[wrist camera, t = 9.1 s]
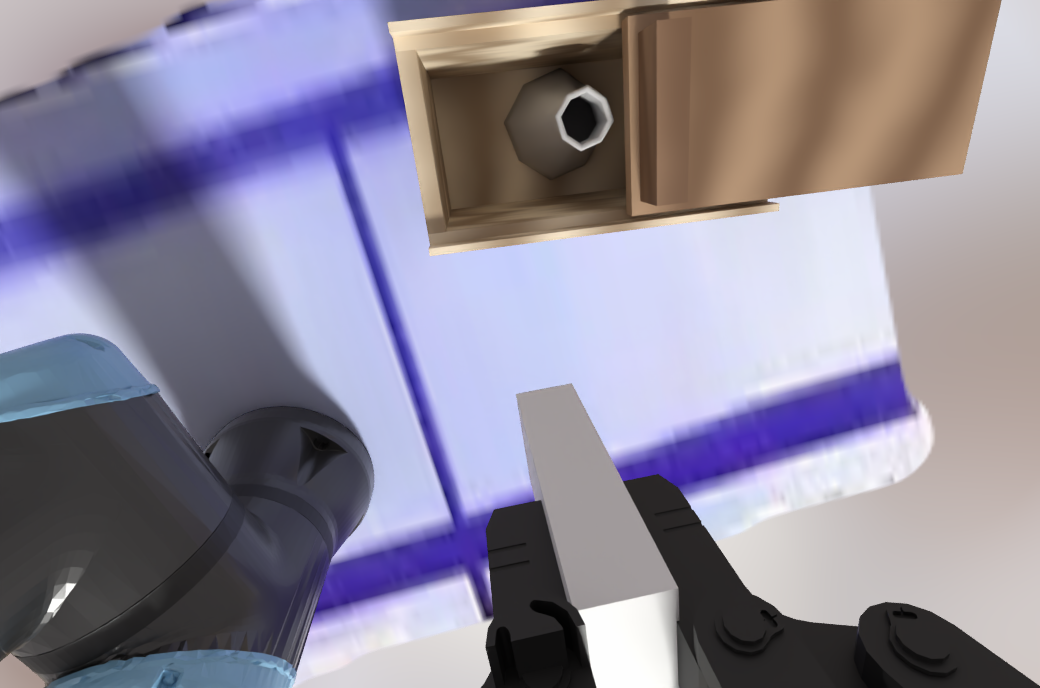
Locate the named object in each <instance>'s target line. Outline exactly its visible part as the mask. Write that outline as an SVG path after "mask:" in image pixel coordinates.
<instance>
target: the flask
mask: <svg viewBox="0 0 1040 688" xmlns="http://www.w3.org/2000/svg"><path fill="white" fill-rule="evenodd" d="M613 122H614V120H613V116H612V113H611V110H610V107H609V103H608V100H607V98H606V97H605V96H603V95H602V94H601V93H599V92H598V91H596V90H595V89H593V88H592V87H591V86H589V85H584V84H583V83H581V82H580V81H579V80H577V79H576V78H574V77H573V76H571V75H570V74H569V73H567V72H566V71H564V70H563V69H561V68H558V69H556V70H554V71H552V72H549V73H547V74H545V75H543V76H541V77H539V78H537V79H534V80H532V81H530V82H528V83H526V84H524V85H523V86H522V88H521V90H520V92H519V94H518V96H517V98H516V100H515V102H514V104H513V106H512V108H511V110H510V112H509V113H508V115H507V117H506V119H505V121H504V124H505V126H506V129H507V131H508V134H509V137H510V139H511V142H512V144H513V147H514V149H515V152H516V154H517V157H518V159H519V161H520V162H522V163H524V164H525V165H527V166H529V167H530V168H532V169H533V170H535V171H537V172H538V173H540V174H541V175H543V176H545V177H546V178H548V179H549V180H553V179H555V178H557V177H560V176H562V175H564V174H566V173H568V172H571V171H573V170H575V169H577V168H579V167H582V166H584V165H585V164H586V162H587V161H588V159H589V157H590V156H591V154H592V152H593V150H594V149H595V147H596V145H597V144H598V143H600V142H602V141H603V139H604V137H605V135H606V134H607V132H608V130H609V128H610V127H611V125H612V123H613Z"/></svg>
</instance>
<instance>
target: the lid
mask: <svg viewBox="0 0 1040 688" xmlns="http://www.w3.org/2000/svg"><path fill="white" fill-rule="evenodd" d="M1000 5H1001V0H774V1H765V2H755V3H746V4H737V5H727V6H718V7H708V8H699V9H689V10H680V11H670V12H661V13H651V14H642V15H632V16H627V17H626V18H625V19H623V20H622V55H623V95H624V134H625V174H626V214H628V215H630V216H638V215H646V214H653V213H661V212H669V211H677V210H685V209H692V208H700V207H708V206H716V205H724V204H731V203H739V202H747V201H755V200H762V199H770V198H778V197H786V196H794V195H801V194H809V193H817V192H825V191H833V190H840V189H848V188H856V187H864V186H871V185H879V184H887V183H895V182H903V181H910V180H918V179H925V178H934V177H941V176H949V175H957V174H962V173H963V169H964V164H965V160H966V156H967V151H968V147H969V142H970V138H971V134H972V129H973V125H974V120H975V116H976V111H977V106H978V102H979V97H980V93H981V89H982V85H983V80H984V76H985V71H986V67H987V62H988V58H989V54H990V49H991V44H992V40H993V35H994V31H995V27H996V22H997V18H998V13H999V9H1000Z"/></svg>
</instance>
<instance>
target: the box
mask: <svg viewBox="0 0 1040 688" xmlns="http://www.w3.org/2000/svg"><path fill="white" fill-rule="evenodd" d="M765 1H774V0H599V1H589V2H579V3H570V4H560V5H550V6H541V7H531V8H521V9H512V10H502V11H492V12H483V13H473V14H463V15H454V16H444V17H434V18H425V19H415V20H405V21H396V22H388V28H389V33H390V34H391V36H392V37H393V41H394V47H395V52H396V58H397V63H398V69H399V74H400V80H401V86H402V91H403V97H404V102H405V108H406V113H407V119H408V124H409V130H410V136H411V141H412V147H413V152H414V158H415V163H416V169H417V175H418V180H419V186H420V191H421V197H422V202H423V208H424V213H425V219H426V225H427V230H428V236H429V241H430V247H429V253H430V256H435V255H442V254H450V253H458V252H465V251H473V250H481V249H489V248H496V247H504V246H512V245H519V244H527V243H535V242H542V241H550V240H558V239H565V238H573V237H581V236H589V235H596V234H604V233H612V232H619V231H627V230H635V229H642V228H650V227H658V226H665V225H673V224H681V223H689V222H696V221H704V220H712V219H719V218H727V217H735V216H742V215H750V214H758V213H765V212H773V211H779V203H773V202H767V200H768V199H762V200H755V201H747V202H739V203H731V204H724V205H716V206H708V207H700V208H692V209H685V210H677V211H669V212H661V213H653V214H646V215H638V216H630V215H628V214H626V174H625V134H624V95H623V55H622V20H623V19H625V18H626V17H627V16H632V15H642V14H651V13H661V12H670V11H680V10H689V9H699V8H708V7H718V6H727V5H737V4H746V3H755V2H765ZM558 68H561V69H563V70H564V71H566V72H567V73H569V74H570V75H571V76H573V77H574V78H576V79H577V80H579V81H580V82H581V83H583V84H584V85H589V86H591V87H592V88H593V89H595V90H596V91H598V92H599V93H601V94H602V95H603V96H605V97H606V98H607V100H608V103H609V107H610V110H611V113H612V116H613V120H614V122H613V123H612V125H611V127H610V128H609V130H608V132H607V134H606V135H605V137H604V139H603V141H602V142H600V143H598V144H597V145H596V147H595V149H594V150H593V152H592V154H591V156H590V157H589V159H588V161H587V162H586V164H585V165H584V166H582V167H579V168H577V169H575V170H573V171H571V172H568V173H566V174H564V175H562V176H560V177H557V178H555V179H553V180H549V179H548V178H546V177H545V176H543V175H541V174H540V173H538V172H537V171H535V170H533V169H532V168H530V167H529V166H527V165H525V164H524V163H522V162H520V161H519V159H518V157H517V154H516V152H515V149H514V147H513V144H512V142H511V139H510V137H509V134H508V131H507V129H506V126H505V124H504V121H505V119H506V117H507V115H508V113H509V112H510V110H511V108H512V106H513V104H514V102H515V100H516V98H517V96H518V94H519V92H520V90H521V88H522V86H523V85H524V84H526V83H528V82H530V81H532V80H534V79H537V78H539V77H541V76H543V75H545V74H547V73H549V72H552V71H554V70H556V69H558Z"/></svg>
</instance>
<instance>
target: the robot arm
mask: <svg viewBox="0 0 1040 688" xmlns="http://www.w3.org/2000/svg"><path fill="white" fill-rule="evenodd" d="M158 392H160V390H159V388H158V387H157V386H156V385H154V384H150V383H149V382H148V381H147V380H146V379H145V378H144V376H143V375H142V374H141V373H140V372H139V371H138V370H137V369H136V368H135V367H134V365H133V364H132V363H131V362H130V361H129V360H128V358H127V357H126V356H125V355H124V354H123V353H122V351H121V350H120V349H119V348H118V347H117V346H116V345H114V344H113V343H112V342H110V341H109V340H107V339H105V338H102V337H99V336H96V335H91V334H83V333H78V334H68V335H63V336H59V337H56V338H52V339H48V340H45V341H42V342H38V343H35V344H32V345H28V346H25V347H22V348H18V349H15V350H12V351H8V352H5V353H2V354H0V661H1V660H3V659H4V658H5V657H6V656H8V655H9V654H10V653H11V654H12V655H14V656H15V657H17V658H18V659H19V660H20V661H21V662H23V663H24V664H25V665H26V666H28V667H29V668H30V669H31V670H32V671H33V672H34V673H36V674H37V675H38V676H39V677H40V678H41V679H42V680H43V681H44V682H45V688H291V687H292V686H293V684H294V682H295V679H296V672H297V669H298V665H299V662H300V659H301V656H302V652H303V649H304V646H305V643H306V639H307V636H308V633H309V630H310V626H311V623H312V620H313V617H314V613H315V610H316V607H317V604H318V600H319V597H320V594H321V591H322V587H323V584H324V581H325V578H326V574H327V571H328V568H329V565H330V562H331V558H332V557H333V556H334V555H335V553H336V552H337V551H338V549H339V548H340V547H341V546H342V544H343V543H344V542H345V540H346V539H347V538H348V537H349V536H350V535H351V534H352V533H353V532H354V531H355V530H356V528H357V527H358V526H359V525H360V523H361V522H362V520H363V518H364V516H365V514H366V512H367V510H368V507H369V503H370V500H371V496H372V492H373V488H374V470H373V466H372V462H371V459H370V457H369V455H368V453H367V451H366V449H365V448H364V446H363V445H362V443H361V442H360V441H359V440H358V438H357V437H356V436H355V435H354V434H353V433H352V432H351V431H349V430H348V429H347V428H346V427H344V426H343V425H342V424H340V423H338V422H337V421H335V420H333V419H331V418H329V417H327V416H325V415H323V414H320V413H317V412H314V411H311V410H307V409H302V408H295V407H270V408H264V409H259V410H255V411H252V412H249V413H246V414H244V415H242V416H240V417H238V418H236V419H234V420H233V421H231V422H230V423H228V424H227V425H226V426H225V427H224V428H223V429H222V430H221V431H220V432H219V433H218V434H217V435H216V436H215V438H214V439H213V440H212V441H211V442H210V443H209V445H208V446H207V447H206V448H205V450H204V451H202V450H201V449H200V448H199V446H198V445H197V444H196V443H195V441H194V440H193V439H192V437H191V436H190V435H189V433H188V432H187V431H186V429H185V428H184V427H183V425H182V424H181V423H180V421H179V420H178V419H177V417H176V416H175V415H174V413H173V412H172V411H171V409H170V408H169V407H168V405H167V404H166V403H165V401H164V400H163V399H162V397H161V396H160V395H159V393H158ZM516 397H517V403H518V409H519V415H520V421H521V427H522V433H523V439H524V445H525V451H526V457H527V463H528V469H529V475H530V480H531V485H532V489H533V493H534V497H535V501H534V502H529V503H524V504H519V505H514V506H509V507H504V508H500V509H495V510H494V511H493V514H492V516H491V518H490V521H489V523H488V526H487V528H486V537H487V548H488V559H489V569H490V581H491V593H492V604H493V615H494V619H493V621H492V623H491V624H490V626H489V628H488V632H487V640H486V651H487V655H488V659H489V663H490V667H491V672H490V674H489V676H488V678H487V679H486V681H485V683H484V685H483V686H482V687H481V688H1040V686H1039V685H1037V684H1036V683H1035V682H1033V681H1032V680H1030V679H1029V678H1028V677H1026V676H1025V675H1023V674H1022V673H1021V672H1019V671H1018V670H1016V669H1015V668H1014V667H1012V666H1011V665H1009V664H1008V663H1007V662H1005V661H1004V660H1002V659H1001V658H1000V657H998V656H997V655H995V654H994V653H992V652H991V651H990V650H988V649H987V648H986V647H984V646H983V645H982V644H980V643H979V642H977V641H976V640H975V639H973V638H972V637H970V636H969V635H967V634H966V633H965V632H963V631H962V630H960V629H959V628H958V627H956V626H955V625H953V624H951V623H950V622H948V621H946V620H944V619H943V618H941V617H939V616H937V615H936V614H934V613H932V612H930V611H927V610H924V609H921V608H918V607H915V606H912V605H909V604H903V603H889V602H885V603H881V604H877V605H874V606H870V607H869V608H868V609H867V610H866V611H865V612H864V613H863V614H862V615H861V616H860V619H859V624H858V627H857V626H846V625H835V624H824V623H813V622H807V621H801V620H796V619H793V618H790V617H787V616H784V615H782V614H781V613H780V612H779V611H778V610H777V609H776V608H775V607H774V606H773V605H771V604H769V603H768V602H766V601H764V600H762V599H761V598H759V597H757V596H755V595H752V594H751V593H750V591H749V590H748V589H747V588H746V587H745V586H744V584H743V583H742V581H741V580H740V579H739V577H738V575H737V574H736V573H735V571H734V569H733V568H732V566H731V565H730V563H729V562H728V561H727V559H726V558H725V556H724V555H723V553H722V552H721V550H720V549H719V547H718V546H717V544H716V543H715V541H714V540H713V538H712V537H711V535H710V534H709V532H708V531H707V529H706V528H705V527H704V526H702V524H701V521H700V519H699V518H698V516H697V515H696V513H695V512H694V510H692V509H691V506H690V504H689V503H688V501H687V500H686V499H685V497H684V496H683V494H682V493H681V491H680V490H679V488H678V487H676V486H675V485H673V484H672V483H670V482H669V481H668V480H666V479H665V478H663V477H662V476H660V475H659V474H657V475H652V476H647V477H642V478H637V479H633V480H628V481H622V479H621V477H620V475H619V473H618V471H617V469H616V468H615V466H614V464H613V462H612V460H611V458H610V456H609V454H608V452H607V450H606V448H605V446H604V445H603V443H602V441H601V439H600V437H599V435H598V433H597V431H596V429H595V427H594V425H593V423H592V422H591V420H590V418H589V416H588V414H587V412H586V410H585V408H584V406H583V404H582V402H581V400H580V399H579V397H578V395H577V393H576V391H575V389H574V387H573V385H572V383H571V384H566V385H561V386H556V387H550V388H545V389H540V390H535V391H529V392H524V393H519V394H516Z"/></svg>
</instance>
